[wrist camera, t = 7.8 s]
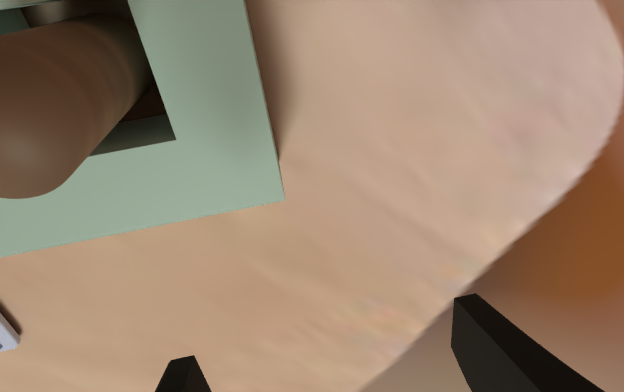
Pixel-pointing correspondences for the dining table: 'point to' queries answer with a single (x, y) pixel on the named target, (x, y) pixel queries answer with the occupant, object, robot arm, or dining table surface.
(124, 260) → the dining table surface
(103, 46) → the walnut peg
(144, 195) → the socket block
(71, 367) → the dining table surface
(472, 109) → the dining table surface
